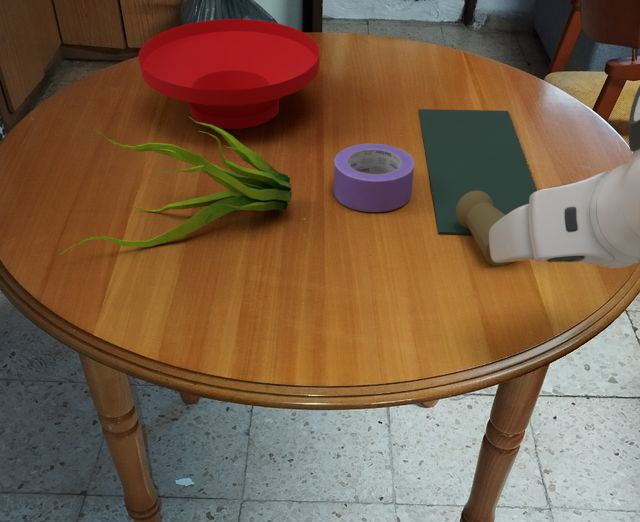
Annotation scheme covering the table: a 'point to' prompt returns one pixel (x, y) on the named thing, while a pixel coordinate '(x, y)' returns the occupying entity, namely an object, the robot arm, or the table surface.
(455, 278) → the table surface
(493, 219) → the olive pawn piece
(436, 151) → the mat
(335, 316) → the table surface
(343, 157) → the tape roll
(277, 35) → the bowl
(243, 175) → the decorative plant
